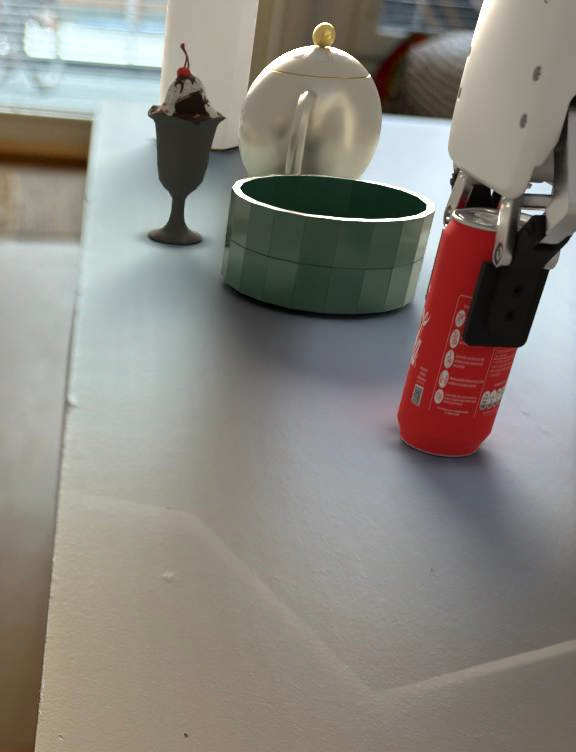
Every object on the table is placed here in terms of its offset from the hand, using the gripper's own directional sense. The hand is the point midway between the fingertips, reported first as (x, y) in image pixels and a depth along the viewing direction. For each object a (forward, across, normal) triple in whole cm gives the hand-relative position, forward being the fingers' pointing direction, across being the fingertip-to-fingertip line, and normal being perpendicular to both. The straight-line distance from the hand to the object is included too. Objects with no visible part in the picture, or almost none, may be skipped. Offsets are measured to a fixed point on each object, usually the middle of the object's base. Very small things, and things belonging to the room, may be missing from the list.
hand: (472, 321), depth 52 cm
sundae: (+7, +42, +11) cm, 44 cm away
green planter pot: (+7, +28, +1) cm, 29 cm away
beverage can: (+7, 0, 0) cm, 7 cm away
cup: (+7, +90, +3) cm, 90 cm away
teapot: (+7, +52, -2) cm, 53 cm away
